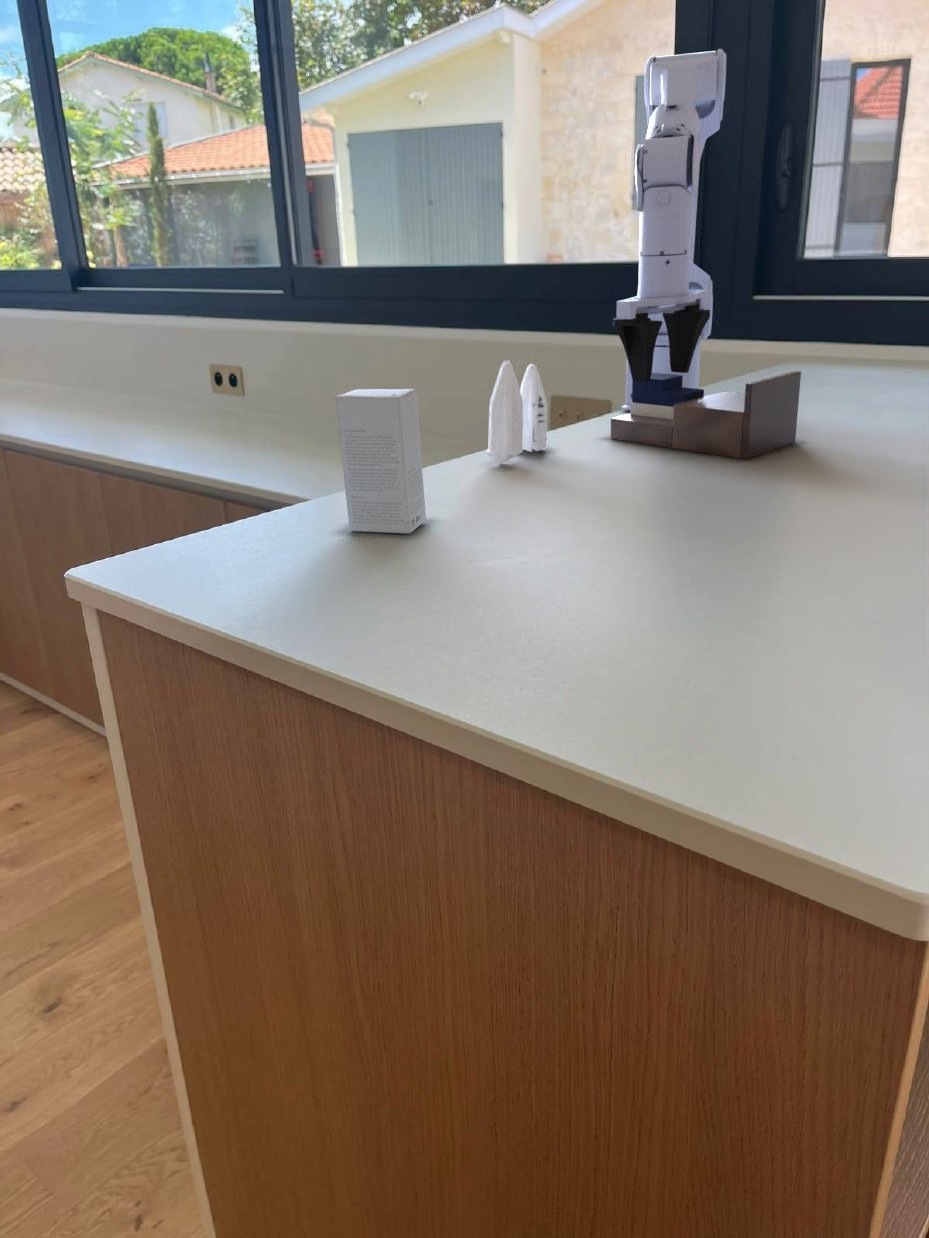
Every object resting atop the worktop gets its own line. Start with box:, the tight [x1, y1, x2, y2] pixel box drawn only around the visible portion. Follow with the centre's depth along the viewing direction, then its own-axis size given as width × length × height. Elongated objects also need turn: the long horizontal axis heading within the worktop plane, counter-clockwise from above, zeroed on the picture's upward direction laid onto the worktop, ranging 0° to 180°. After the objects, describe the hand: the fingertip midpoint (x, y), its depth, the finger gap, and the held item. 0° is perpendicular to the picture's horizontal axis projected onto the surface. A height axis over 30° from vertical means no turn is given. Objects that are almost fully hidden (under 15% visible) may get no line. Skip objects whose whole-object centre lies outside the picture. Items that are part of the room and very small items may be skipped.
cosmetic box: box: [334, 388, 427, 534], centre depth 83 cm, size 6×4×12 cm
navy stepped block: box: [629, 373, 705, 420], centre depth 113 cm, size 8×4×4 cm, turn 43°
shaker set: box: [486, 360, 548, 466], centre depth 106 cm, size 12×4×11 cm, turn 152°
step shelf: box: [610, 370, 802, 460], centre depth 110 cm, size 19×10×8 cm, turn 43°
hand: (660, 376), depth 113 cm, fingers open, 7 cm apart
